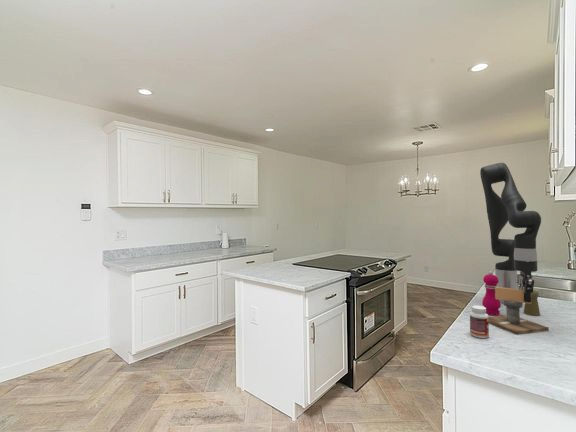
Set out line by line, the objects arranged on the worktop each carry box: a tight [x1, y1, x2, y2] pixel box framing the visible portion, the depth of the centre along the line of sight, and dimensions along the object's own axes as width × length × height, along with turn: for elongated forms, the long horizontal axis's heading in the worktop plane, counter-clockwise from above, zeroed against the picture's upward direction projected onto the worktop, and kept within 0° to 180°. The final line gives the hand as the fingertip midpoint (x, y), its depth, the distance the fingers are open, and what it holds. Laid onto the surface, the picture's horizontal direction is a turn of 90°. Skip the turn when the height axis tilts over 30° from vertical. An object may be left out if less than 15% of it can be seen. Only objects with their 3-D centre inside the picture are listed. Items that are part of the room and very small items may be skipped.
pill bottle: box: [469, 305, 490, 339], centre depth 115 cm, size 6×6×11 cm
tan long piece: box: [495, 287, 531, 309], centre depth 125 cm, size 6×12×8 cm, turn 50°
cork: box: [523, 289, 541, 317], centre depth 138 cm, size 6×6×11 cm
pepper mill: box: [481, 270, 502, 316], centre depth 140 cm, size 7×7×20 cm
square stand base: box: [488, 306, 549, 336], centre depth 125 cm, size 16×16×8 cm
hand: (526, 300), depth 122 cm, fingers closed on tan long piece, 2 cm apart
